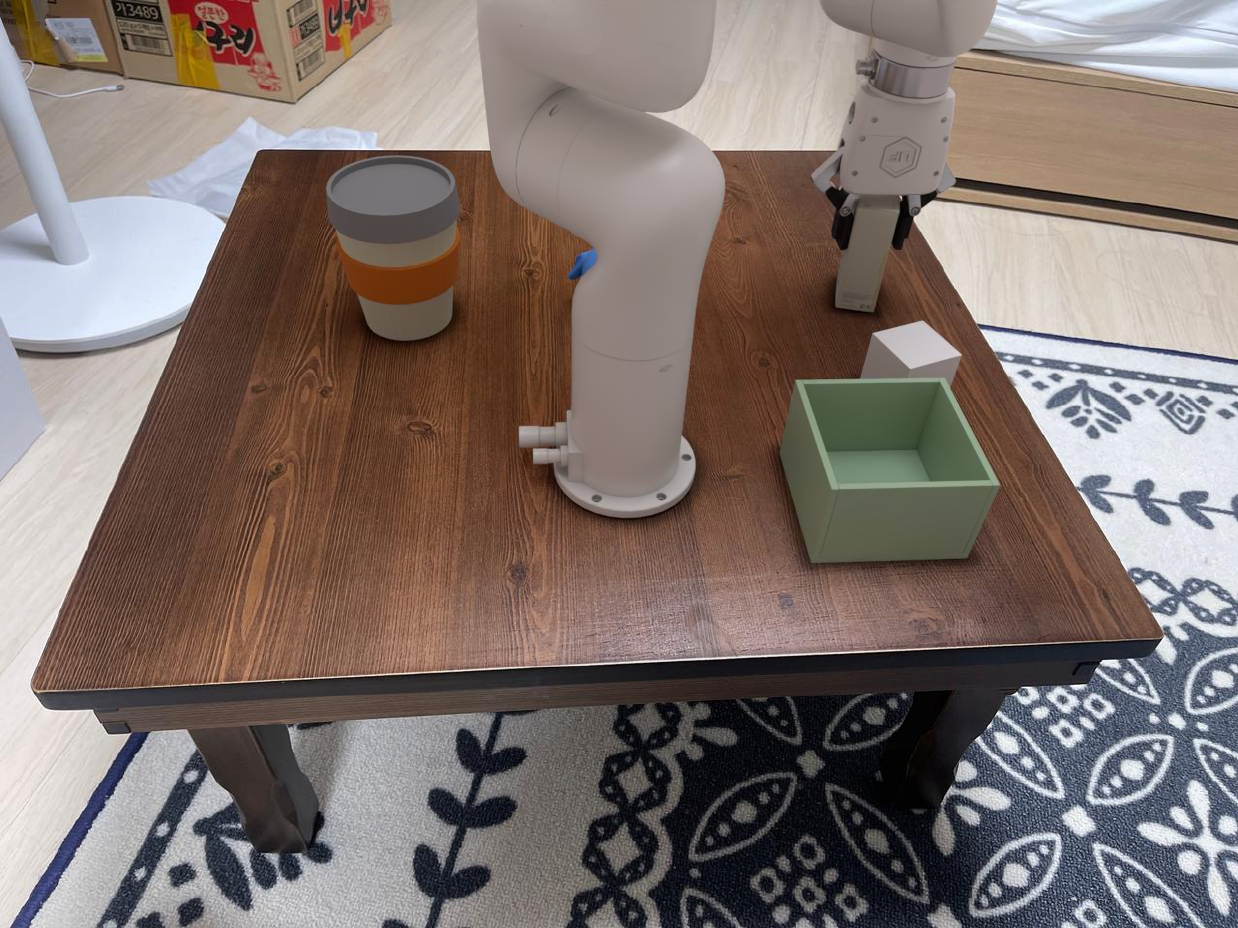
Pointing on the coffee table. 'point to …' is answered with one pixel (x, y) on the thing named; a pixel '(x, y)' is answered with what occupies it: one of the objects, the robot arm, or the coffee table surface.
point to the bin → (884, 470)
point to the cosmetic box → (866, 252)
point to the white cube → (910, 354)
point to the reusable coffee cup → (398, 241)
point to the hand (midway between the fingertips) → (867, 242)
